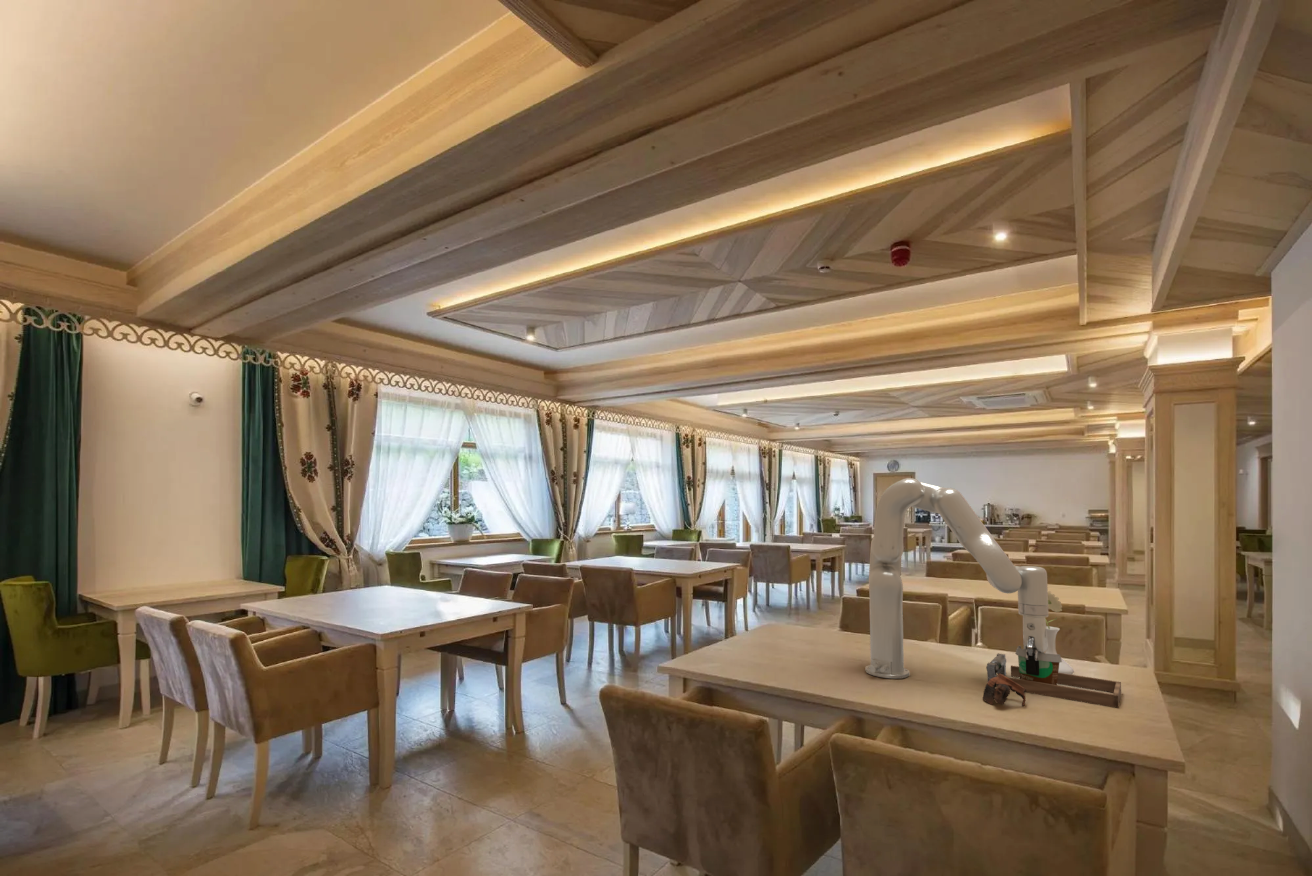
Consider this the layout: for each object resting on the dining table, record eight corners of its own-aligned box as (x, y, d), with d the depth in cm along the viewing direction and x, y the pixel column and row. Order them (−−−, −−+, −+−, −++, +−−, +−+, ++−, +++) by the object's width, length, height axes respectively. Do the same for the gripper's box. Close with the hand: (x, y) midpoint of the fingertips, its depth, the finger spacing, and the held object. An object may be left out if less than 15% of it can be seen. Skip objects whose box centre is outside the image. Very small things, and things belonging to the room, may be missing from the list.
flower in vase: (1080, 680, 192) (1077, 594, 194) (1038, 677, 195) (1035, 592, 197) (1062, 668, 205) (1059, 588, 207) (1023, 666, 207) (1020, 586, 209)
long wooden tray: (1118, 707, 168) (1117, 695, 168) (1001, 687, 184) (1000, 676, 184) (1121, 693, 180) (1120, 682, 180) (1011, 675, 197) (1011, 665, 197)
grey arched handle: (997, 687, 185) (996, 665, 185) (985, 685, 186) (985, 663, 187) (1009, 673, 199) (1008, 653, 200) (998, 671, 201) (997, 651, 202)
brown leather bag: (980, 697, 177) (995, 670, 178) (1016, 719, 172) (1031, 692, 172) (977, 696, 168) (993, 668, 168) (1015, 720, 162) (1031, 691, 162)
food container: (1005, 681, 188) (1006, 645, 190) (1018, 680, 191) (1018, 645, 193) (1049, 693, 178) (1049, 655, 179) (1061, 691, 181) (1062, 654, 182)
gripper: (1044, 616, 178) (1046, 680, 177) (1052, 607, 192) (1054, 667, 191) (1013, 612, 183) (1015, 675, 182) (1023, 604, 197) (1025, 662, 195)
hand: (1035, 671), depth 186 cm, fingers open, 9 cm apart
